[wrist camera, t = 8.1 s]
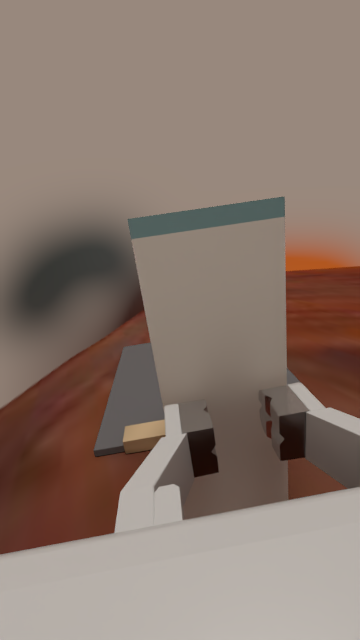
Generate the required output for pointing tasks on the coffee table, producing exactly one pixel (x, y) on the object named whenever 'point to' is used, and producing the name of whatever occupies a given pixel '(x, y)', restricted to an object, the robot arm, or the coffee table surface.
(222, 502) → the cream block
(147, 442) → the oak stop strip
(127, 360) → the charcoal rubber mat
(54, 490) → the coffee table surface
